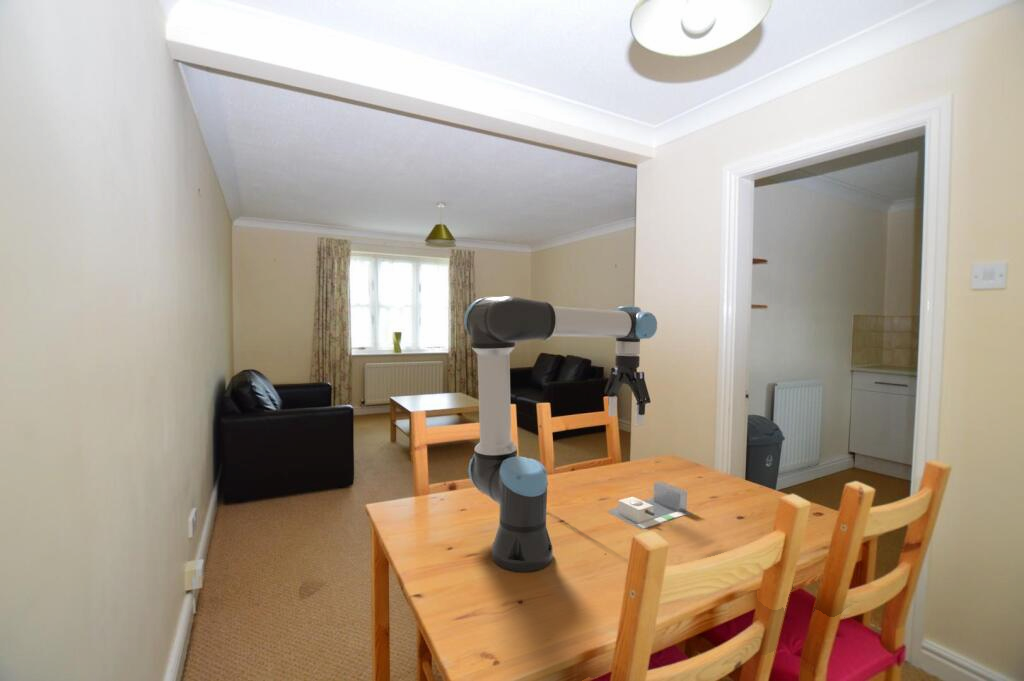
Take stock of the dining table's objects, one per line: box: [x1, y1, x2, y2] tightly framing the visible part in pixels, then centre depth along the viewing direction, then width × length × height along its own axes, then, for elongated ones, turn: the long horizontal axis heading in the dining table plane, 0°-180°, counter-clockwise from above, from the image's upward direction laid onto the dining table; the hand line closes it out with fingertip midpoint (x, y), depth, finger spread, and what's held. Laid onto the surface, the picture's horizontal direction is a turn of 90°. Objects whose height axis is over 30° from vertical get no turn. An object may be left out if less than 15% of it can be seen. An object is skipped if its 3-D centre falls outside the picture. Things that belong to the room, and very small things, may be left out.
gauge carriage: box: [617, 496, 654, 524], centre depth 136 cm, size 6×11×4 cm, turn 32°
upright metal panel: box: [653, 481, 688, 512], centre depth 145 cm, size 3×10×6 cm, turn 32°
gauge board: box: [606, 497, 693, 530], centre depth 141 cm, size 22×14×2 cm, turn 122°
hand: (625, 420), depth 150 cm, fingers open, 13 cm apart
